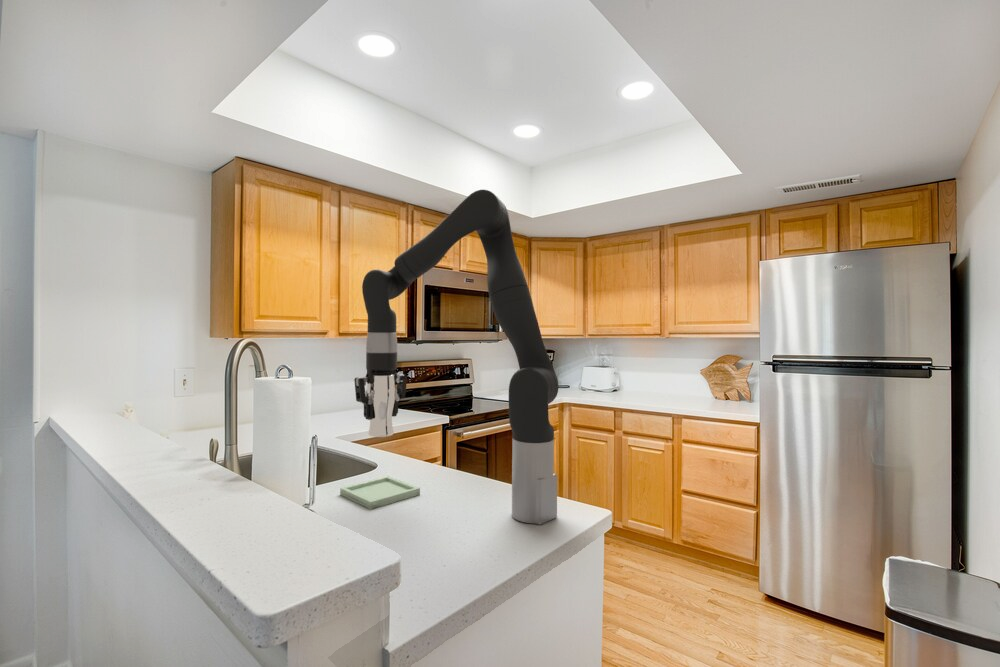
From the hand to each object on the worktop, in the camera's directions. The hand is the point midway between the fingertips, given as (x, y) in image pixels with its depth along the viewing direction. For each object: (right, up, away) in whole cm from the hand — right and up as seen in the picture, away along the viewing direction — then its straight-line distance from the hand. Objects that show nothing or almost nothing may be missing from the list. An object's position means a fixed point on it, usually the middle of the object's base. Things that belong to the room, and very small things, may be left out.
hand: (381, 417), depth 119 cm
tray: (0, -19, 0) cm, 19 cm away
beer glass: (0, -4, 0) cm, 4 cm away
